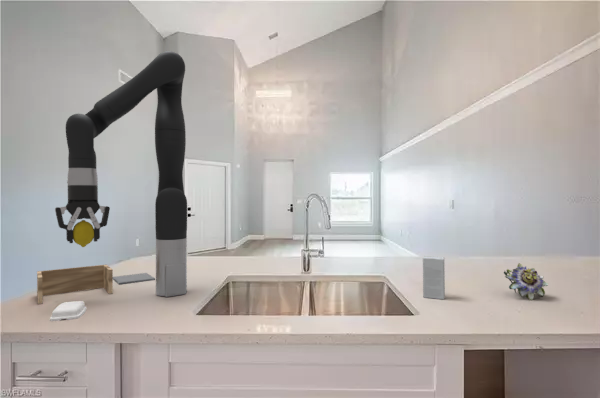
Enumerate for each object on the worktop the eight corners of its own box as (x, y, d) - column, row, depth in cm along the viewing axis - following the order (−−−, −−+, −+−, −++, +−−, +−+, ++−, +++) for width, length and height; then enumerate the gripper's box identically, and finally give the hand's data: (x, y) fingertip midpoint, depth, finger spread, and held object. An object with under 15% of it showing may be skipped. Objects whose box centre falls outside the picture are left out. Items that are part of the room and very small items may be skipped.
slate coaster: (155, 279, 133) (155, 278, 133) (119, 284, 125) (119, 282, 125) (146, 274, 142) (146, 272, 142) (112, 278, 135) (112, 276, 135)
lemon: (98, 245, 108) (98, 219, 108) (85, 248, 102) (85, 220, 102) (81, 245, 108) (80, 219, 108) (67, 248, 103) (67, 220, 103)
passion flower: (530, 317, 107) (513, 287, 104) (505, 300, 118) (489, 272, 115) (561, 296, 107) (545, 265, 104) (534, 281, 118) (519, 252, 115)
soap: (79, 320, 90) (79, 308, 90) (47, 323, 88) (47, 311, 88) (88, 309, 98) (88, 298, 98) (59, 312, 96) (59, 301, 96)
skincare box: (444, 296, 110) (444, 257, 110) (444, 299, 106) (444, 259, 106) (424, 294, 113) (424, 255, 113) (422, 297, 109) (422, 257, 109)
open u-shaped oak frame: (112, 293, 114) (112, 269, 114) (38, 304, 102) (38, 277, 102) (106, 286, 122) (106, 264, 122) (37, 295, 111) (37, 271, 111)
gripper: (54, 183, 98) (54, 245, 98) (112, 184, 107) (113, 241, 107) (52, 184, 104) (52, 243, 104) (107, 185, 113) (108, 239, 113)
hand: (83, 241), depth 105 cm, fingers closed on lemon, 5 cm apart
